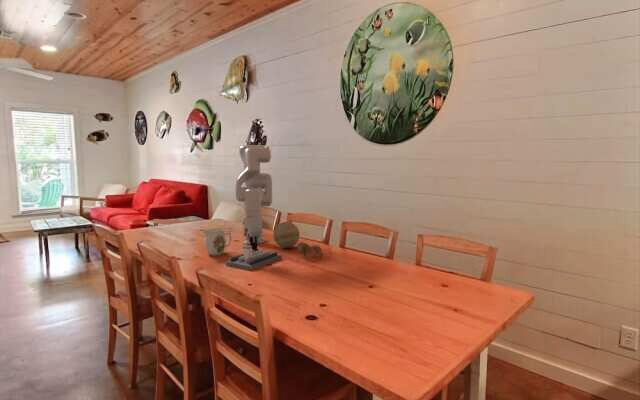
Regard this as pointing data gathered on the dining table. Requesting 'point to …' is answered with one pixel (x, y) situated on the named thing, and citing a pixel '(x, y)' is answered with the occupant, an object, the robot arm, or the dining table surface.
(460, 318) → the dining table surface
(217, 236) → the pitcher
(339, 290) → the dining table surface
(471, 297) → the dining table surface
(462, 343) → the dining table surface
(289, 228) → the decorative ball
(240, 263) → the breaker panel
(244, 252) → the knob
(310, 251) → the lion figurine
